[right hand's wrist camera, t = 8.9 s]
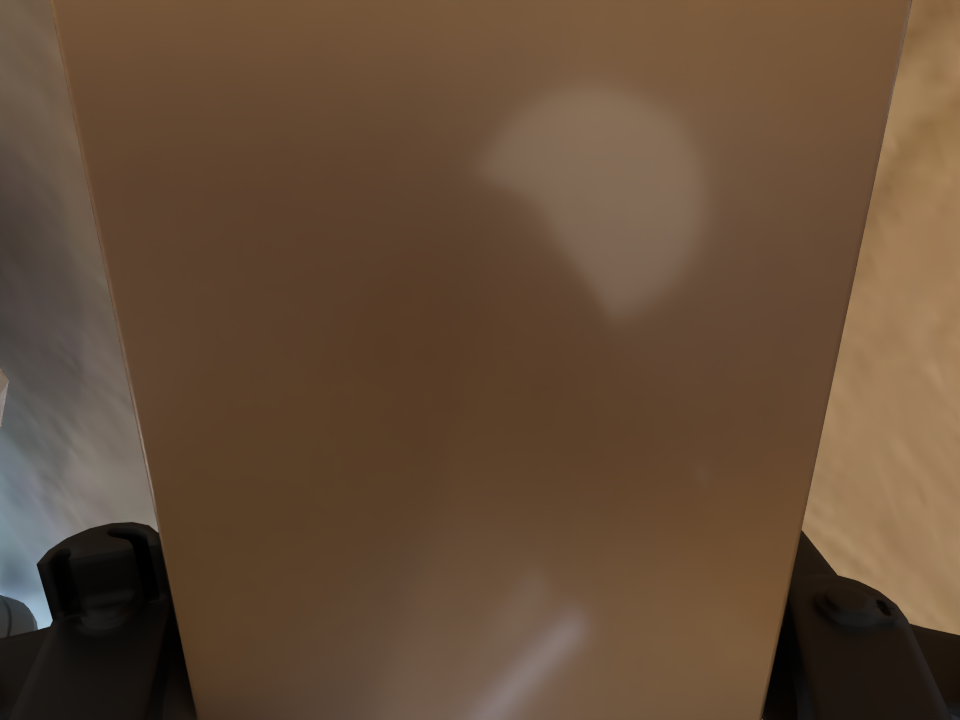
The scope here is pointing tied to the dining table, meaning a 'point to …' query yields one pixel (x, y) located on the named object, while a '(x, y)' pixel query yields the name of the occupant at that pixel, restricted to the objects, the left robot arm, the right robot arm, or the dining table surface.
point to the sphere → (4, 612)
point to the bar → (480, 334)
